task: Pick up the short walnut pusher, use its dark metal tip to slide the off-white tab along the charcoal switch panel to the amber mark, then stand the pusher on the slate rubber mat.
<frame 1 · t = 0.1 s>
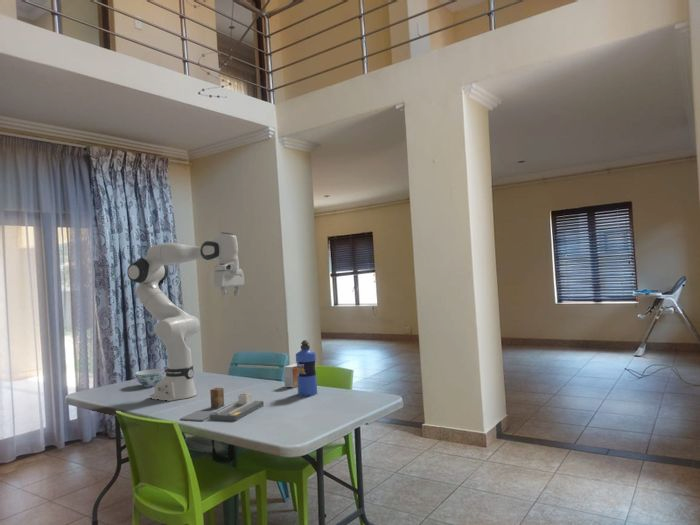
hand: (230, 296, 230), 48 cm above the table, tool pointing down, fingers open, 8 cm apart
chinaware: (150, 386, 268), on the table
small box: (293, 386, 248), on the table
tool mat: (199, 416, 202), on the table
switch panel: (237, 412, 205), on the table
water bottle: (307, 394, 230), on the table
pin tool: (217, 407, 215), on the table
switch tab: (245, 398, 211), point 4 cm above the table, slide at 0.0 cm
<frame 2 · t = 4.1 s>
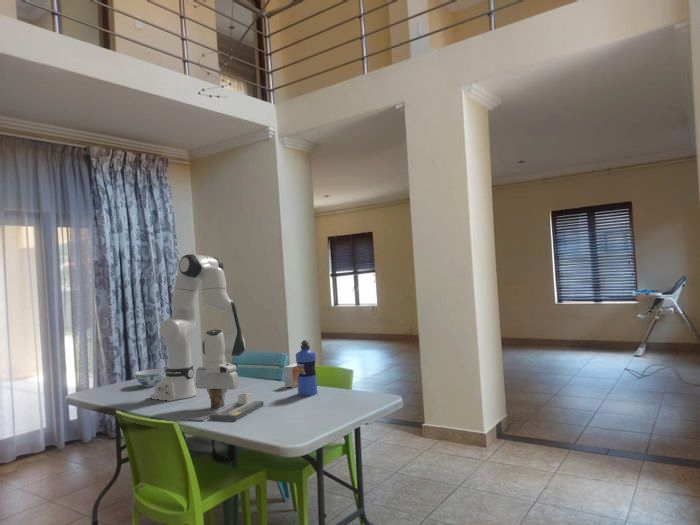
hand: (217, 398, 215), 4 cm above the table, tool pointing down, fingers closed on pin tool, 4 cm apart
pin tool: (217, 407, 215), on the table, touching gripper
everything else where it was.
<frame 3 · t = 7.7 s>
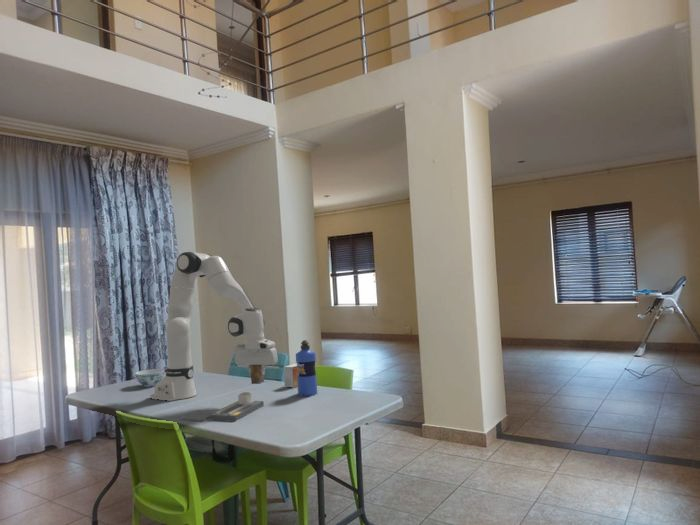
hand: (257, 374, 220), 12 cm above the table, tool pointing down, fingers closed on pin tool, 4 cm apart
pin tool: (257, 382, 220), point 9 cm above the table, touching gripper
everything else where it was.
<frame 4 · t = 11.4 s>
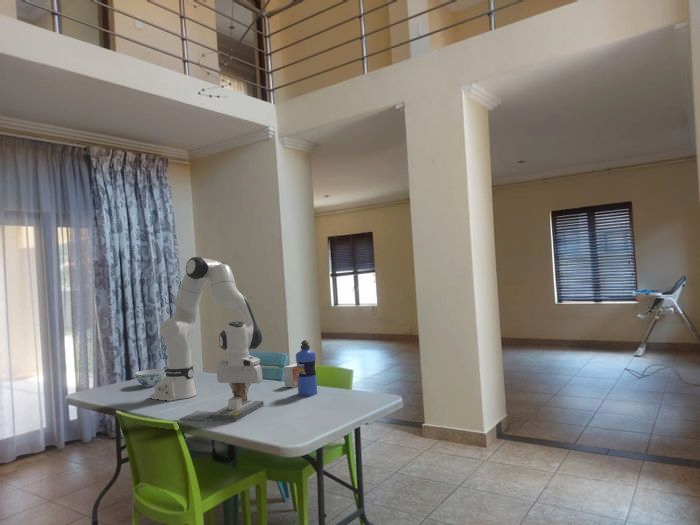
hand: (240, 393, 207), 7 cm above the table, tool pointing down, fingers closed on pin tool, 4 cm apart
pin tool: (240, 401, 207), point 4 cm above the table, touching gripper, switch tab
switch tab: (235, 403, 203), point 4 cm above the table, slide at 7.6 cm, touching pin tool
everything else where it was.
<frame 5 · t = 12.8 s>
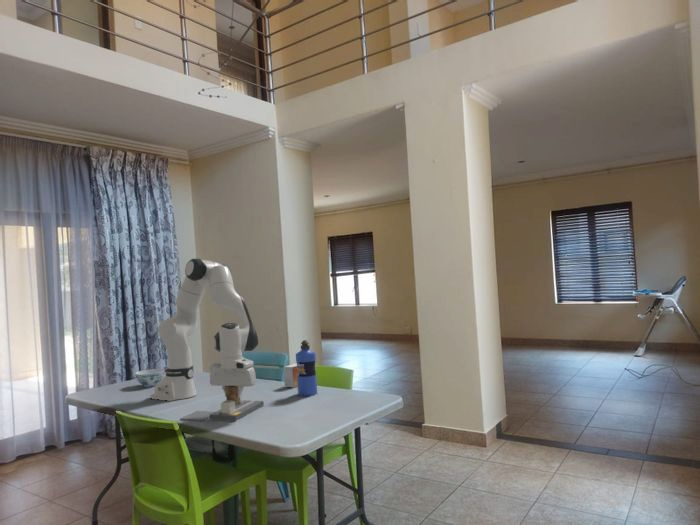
hand: (233, 396, 202), 7 cm above the table, tool pointing down, fingers closed on pin tool, 4 cm apart
pin tool: (233, 405, 202), point 4 cm above the table, touching gripper, switch tab
switch tab: (228, 406, 199), point 4 cm above the table, slide at 12.8 cm, touching pin tool
everything else where it was.
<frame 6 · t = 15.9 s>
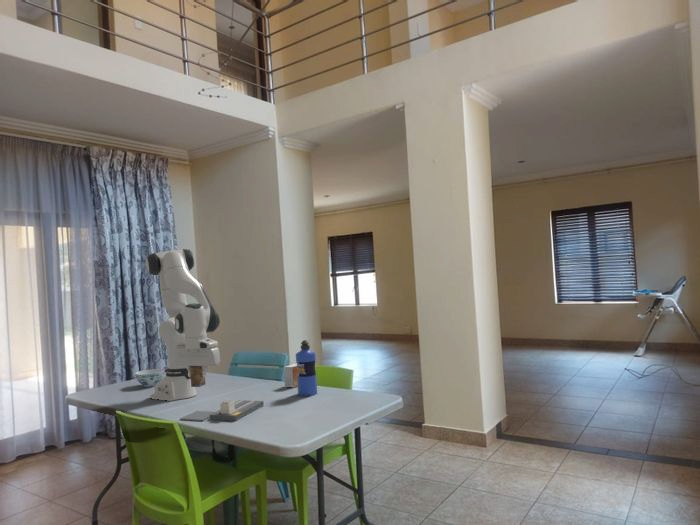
hand: (197, 376, 202), 16 cm above the table, tool pointing down, fingers closed on pin tool, 4 cm apart
pin tool: (198, 385, 202), point 13 cm above the table, touching gripper
switch tab: (227, 406, 198), point 4 cm above the table, slide at 13.2 cm
everything else where it was.
when the fingers open (6 cm above the table, at t = 18.5 s): pin tool drops 1 cm, resting on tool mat.
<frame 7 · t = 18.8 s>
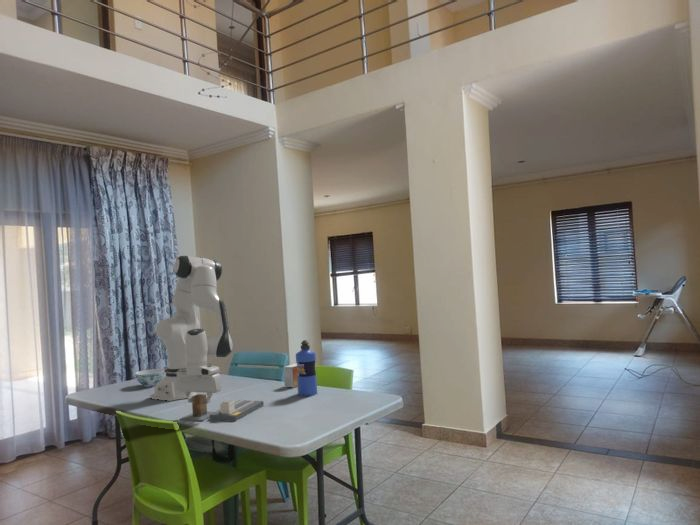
hand: (199, 402, 202), 6 cm above the table, tool pointing down, fingers open, 7 cm apart
pin tool: (199, 415, 202), point 1 cm above the table, touching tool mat
everything else where it was.
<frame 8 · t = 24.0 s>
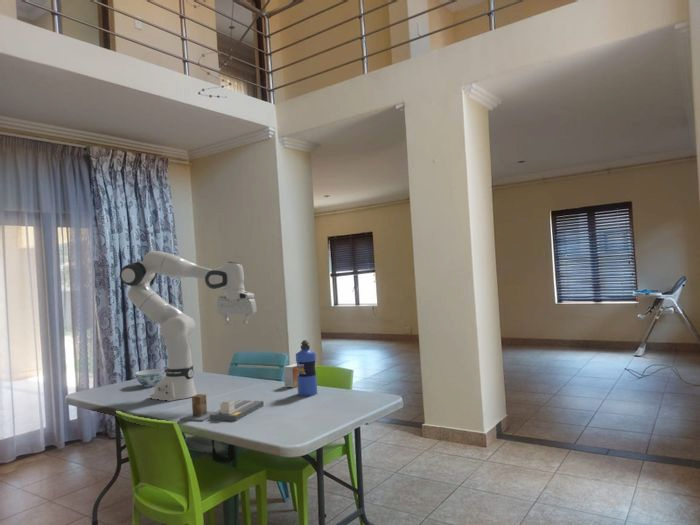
hand: (237, 324, 235), 34 cm above the table, tool pointing down, fingers open, 8 cm apart
nothing on the table moved.
at the end: switch tab slide at 13.2 cm; pin tool inside the target area (0.2 cm from its centre), point 0.6 cm above the table; pin tool tilted 0° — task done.
